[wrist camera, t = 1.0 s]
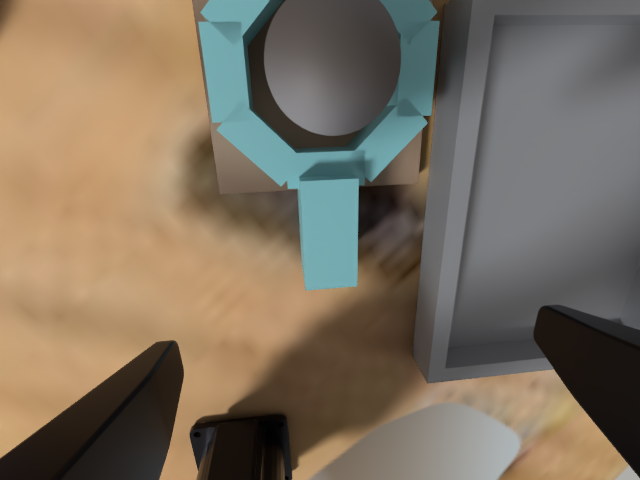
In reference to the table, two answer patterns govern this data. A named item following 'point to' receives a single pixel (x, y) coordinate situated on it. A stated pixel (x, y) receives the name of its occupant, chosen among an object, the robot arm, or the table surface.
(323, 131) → the ring
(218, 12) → the ring
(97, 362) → the table surface
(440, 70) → the tray
